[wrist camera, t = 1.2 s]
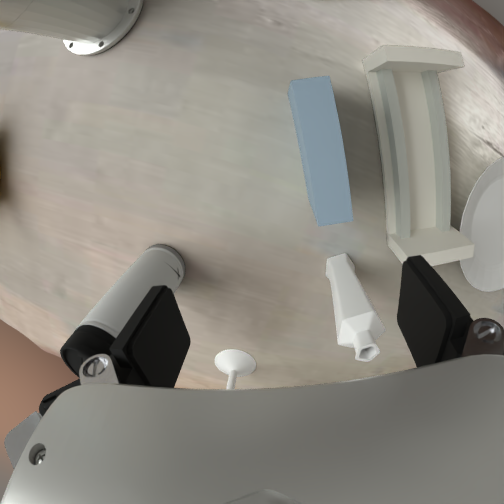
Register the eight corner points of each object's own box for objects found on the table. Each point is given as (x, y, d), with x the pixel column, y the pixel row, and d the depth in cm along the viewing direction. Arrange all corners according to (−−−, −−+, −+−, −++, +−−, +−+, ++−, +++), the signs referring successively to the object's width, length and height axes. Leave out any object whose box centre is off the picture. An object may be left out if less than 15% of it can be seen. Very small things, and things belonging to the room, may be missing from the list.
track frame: (362, 60, 24) (383, 45, 17) (429, 61, 22) (460, 52, 16) (386, 243, 32) (407, 271, 26) (445, 233, 31) (473, 257, 24)
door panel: (287, 93, 26) (290, 80, 18) (315, 89, 26) (329, 75, 18) (308, 199, 31) (318, 226, 23) (334, 195, 31) (353, 220, 23)
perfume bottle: (337, 243, 33) (369, 322, 20) (362, 262, 34) (401, 344, 20) (313, 270, 35) (328, 358, 21) (338, 288, 36) (363, 376, 22)
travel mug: (193, 254, 36) (123, 375, 18) (177, 292, 38) (115, 409, 20) (150, 233, 35) (54, 333, 17) (138, 272, 38) (58, 375, 20)
